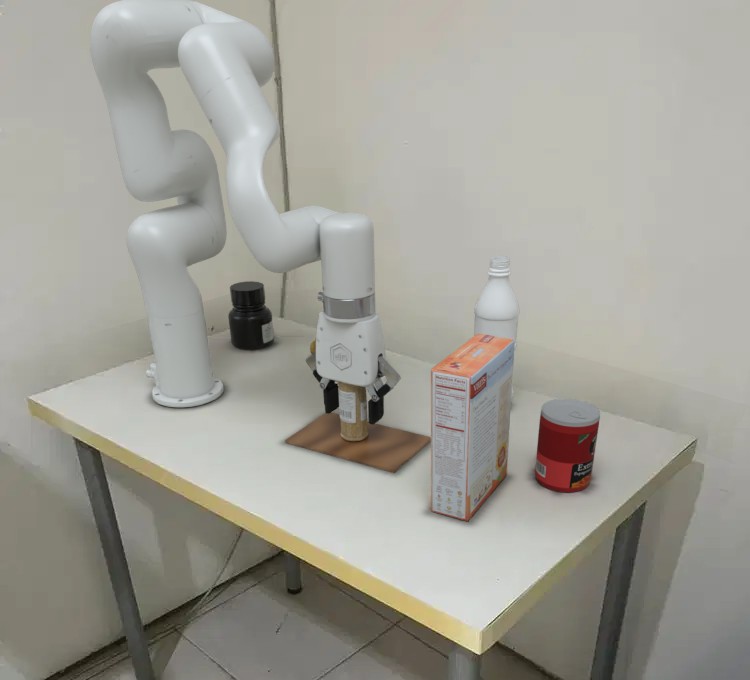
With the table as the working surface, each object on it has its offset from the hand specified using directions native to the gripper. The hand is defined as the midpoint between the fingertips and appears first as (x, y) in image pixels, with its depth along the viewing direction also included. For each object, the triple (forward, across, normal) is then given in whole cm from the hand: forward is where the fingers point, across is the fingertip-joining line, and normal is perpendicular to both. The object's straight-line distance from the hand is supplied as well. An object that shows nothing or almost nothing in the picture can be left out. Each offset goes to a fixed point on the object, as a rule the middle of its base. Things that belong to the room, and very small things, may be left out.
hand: (353, 414), depth 121 cm
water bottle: (+4, +14, +22) cm, 26 cm away
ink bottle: (+4, -42, +26) cm, 50 cm away
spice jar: (+4, 0, 0) cm, 4 cm away
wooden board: (+4, +1, 0) cm, 4 cm away
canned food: (+4, +33, +4) cm, 33 cm away
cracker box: (+4, +23, -6) cm, 24 cm away
